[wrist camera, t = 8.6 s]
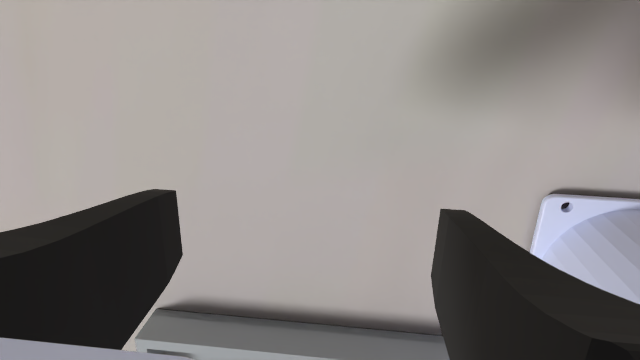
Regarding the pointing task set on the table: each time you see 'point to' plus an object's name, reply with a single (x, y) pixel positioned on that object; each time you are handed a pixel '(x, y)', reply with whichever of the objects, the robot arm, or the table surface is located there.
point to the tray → (277, 340)
